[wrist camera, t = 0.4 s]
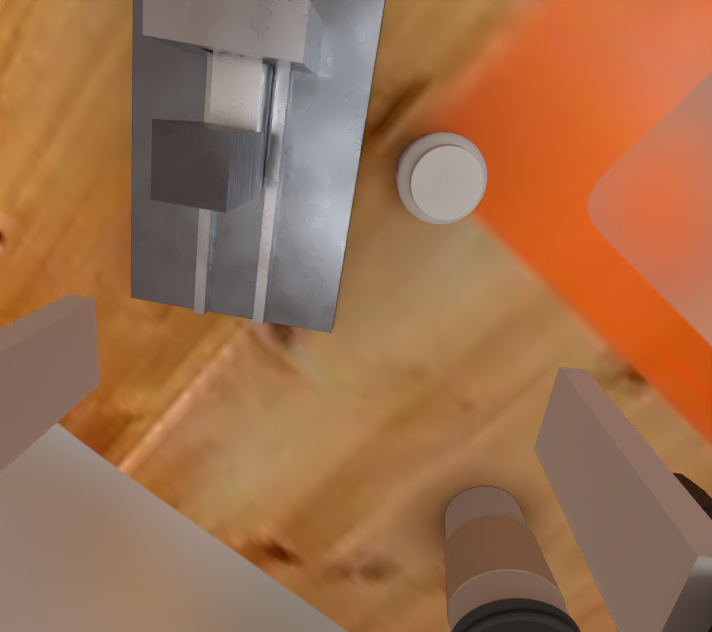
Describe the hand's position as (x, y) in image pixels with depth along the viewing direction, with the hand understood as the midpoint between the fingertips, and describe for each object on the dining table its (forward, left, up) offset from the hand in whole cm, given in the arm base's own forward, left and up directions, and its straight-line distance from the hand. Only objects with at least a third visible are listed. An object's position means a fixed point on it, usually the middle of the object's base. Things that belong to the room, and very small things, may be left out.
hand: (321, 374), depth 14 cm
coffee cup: (+25, +15, -25) cm, 38 cm away
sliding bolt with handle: (-9, -9, -23) cm, 27 cm away
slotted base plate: (-5, -9, -25) cm, 27 cm away
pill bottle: (-5, +4, -25) cm, 26 cm away
